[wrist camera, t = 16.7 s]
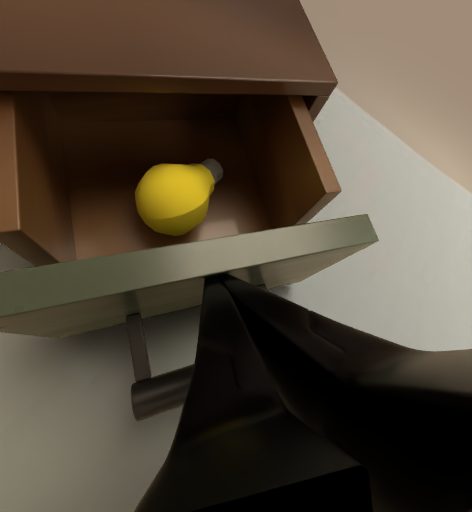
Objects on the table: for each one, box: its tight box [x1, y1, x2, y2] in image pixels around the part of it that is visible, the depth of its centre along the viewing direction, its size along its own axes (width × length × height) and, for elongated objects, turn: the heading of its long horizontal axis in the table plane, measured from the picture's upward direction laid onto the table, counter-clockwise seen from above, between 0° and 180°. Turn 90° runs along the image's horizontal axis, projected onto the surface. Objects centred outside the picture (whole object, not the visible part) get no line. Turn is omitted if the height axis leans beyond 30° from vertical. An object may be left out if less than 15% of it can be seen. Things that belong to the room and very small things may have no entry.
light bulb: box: [135, 159, 223, 236], centre depth 14 cm, size 3×6×4 cm, turn 145°
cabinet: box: [0, 0, 338, 121], centre depth 15 cm, size 13×14×8 cm
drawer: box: [0, 91, 379, 421], centre depth 12 cm, size 16×13×7 cm
